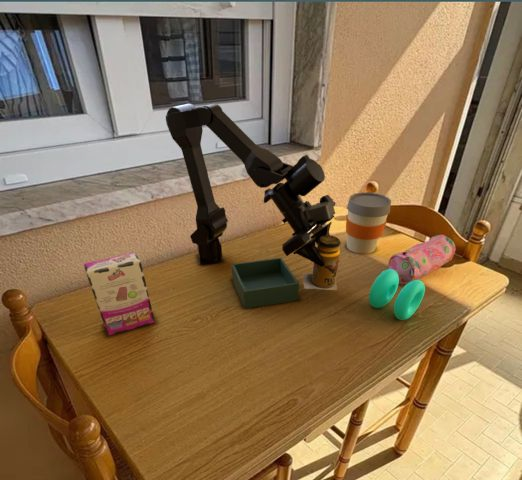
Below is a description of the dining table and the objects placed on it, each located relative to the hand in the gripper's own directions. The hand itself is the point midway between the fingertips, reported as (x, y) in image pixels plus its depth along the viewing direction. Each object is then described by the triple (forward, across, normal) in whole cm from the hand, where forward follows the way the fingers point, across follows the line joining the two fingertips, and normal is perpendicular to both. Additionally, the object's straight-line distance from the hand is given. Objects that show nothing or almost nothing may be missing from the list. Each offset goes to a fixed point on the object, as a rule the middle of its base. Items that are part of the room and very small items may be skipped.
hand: (328, 260), depth 94 cm
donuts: (+20, +1, -6) cm, 20 cm away
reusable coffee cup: (+7, +31, +7) cm, 33 cm away
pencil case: (+20, +24, -7) cm, 32 cm away
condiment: (+4, 0, +6) cm, 7 cm away
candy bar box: (-17, -36, +32) cm, 51 cm away
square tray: (-3, -7, +17) cm, 19 cm away
